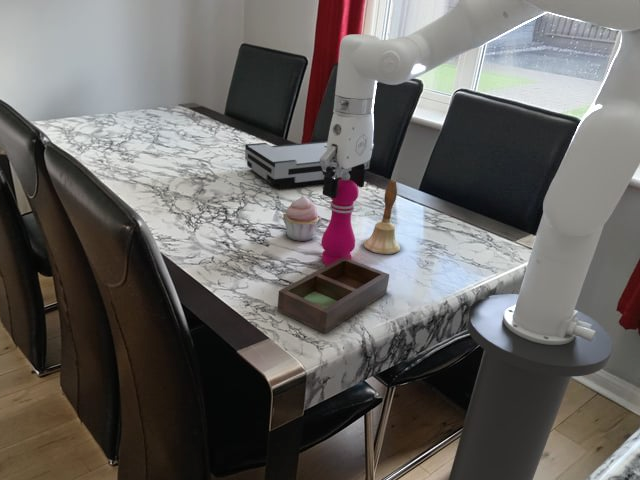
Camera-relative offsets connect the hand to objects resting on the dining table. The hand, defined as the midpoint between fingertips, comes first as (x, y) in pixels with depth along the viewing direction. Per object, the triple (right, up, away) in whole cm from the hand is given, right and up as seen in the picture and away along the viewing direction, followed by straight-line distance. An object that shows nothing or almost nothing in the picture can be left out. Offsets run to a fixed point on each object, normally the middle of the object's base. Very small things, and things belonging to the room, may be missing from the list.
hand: (343, 190), depth 118 cm
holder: (-3, -23, -8) cm, 24 cm away
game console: (-3, +15, +60) cm, 62 cm away
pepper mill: (0, -14, +8) cm, 16 cm away
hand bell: (+11, -11, +15) cm, 22 cm away
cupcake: (-7, -8, +19) cm, 22 cm away
